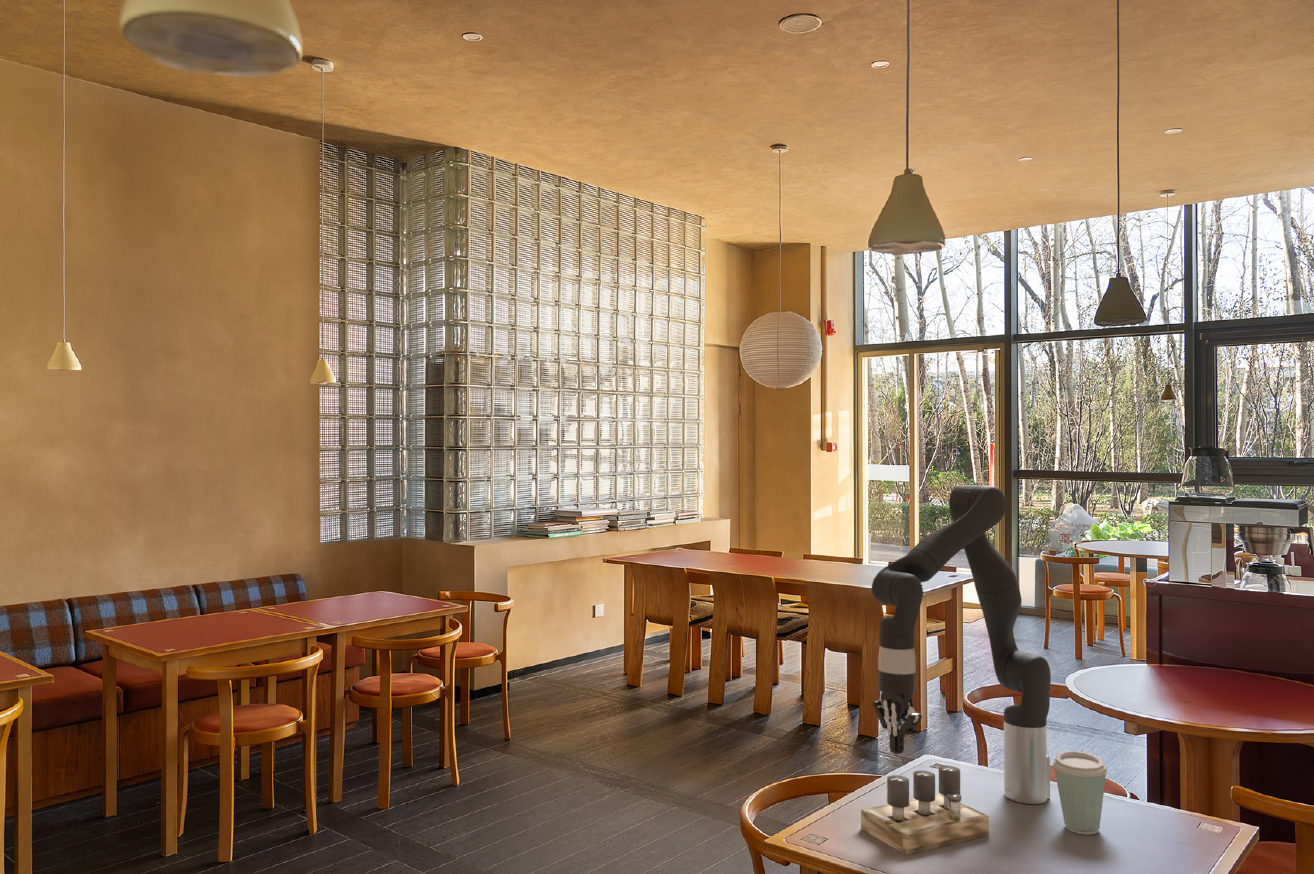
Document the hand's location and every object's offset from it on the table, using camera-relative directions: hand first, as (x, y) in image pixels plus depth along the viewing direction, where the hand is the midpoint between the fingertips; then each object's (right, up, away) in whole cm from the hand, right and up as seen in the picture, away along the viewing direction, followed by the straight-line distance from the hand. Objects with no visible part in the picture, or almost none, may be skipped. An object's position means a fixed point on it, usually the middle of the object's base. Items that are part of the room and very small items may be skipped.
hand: (896, 752), depth 187 cm
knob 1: (0, -13, -1) cm, 13 cm away
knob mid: (+7, -13, +2) cm, 15 cm away
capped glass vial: (+12, -13, -1) cm, 18 cm away
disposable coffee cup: (+40, -18, +4) cm, 44 cm away
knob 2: (+13, -14, +5) cm, 19 cm away
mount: (+6, -18, +2) cm, 19 cm away
